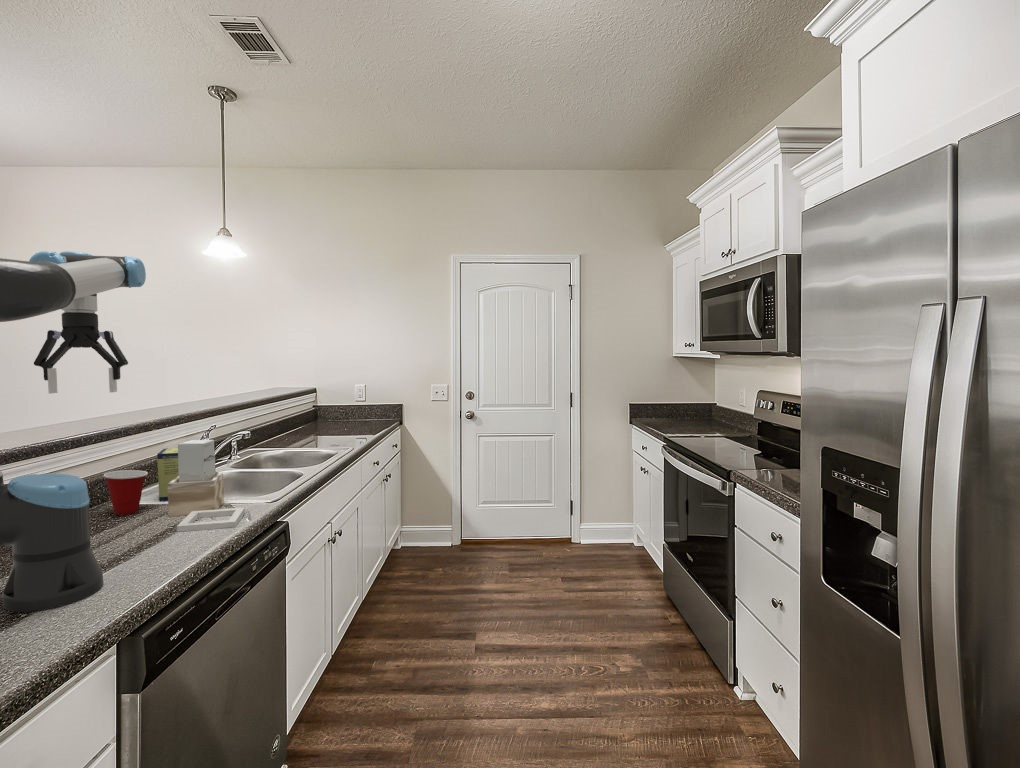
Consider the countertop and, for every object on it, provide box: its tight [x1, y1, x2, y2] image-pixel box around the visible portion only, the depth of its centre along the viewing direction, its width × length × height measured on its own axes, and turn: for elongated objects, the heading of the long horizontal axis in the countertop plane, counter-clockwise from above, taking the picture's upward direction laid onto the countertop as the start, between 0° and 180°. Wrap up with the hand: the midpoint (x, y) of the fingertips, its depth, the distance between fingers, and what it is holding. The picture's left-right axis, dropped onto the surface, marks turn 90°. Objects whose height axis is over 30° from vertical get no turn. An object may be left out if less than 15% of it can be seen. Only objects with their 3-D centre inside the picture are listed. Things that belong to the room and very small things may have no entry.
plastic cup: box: [103, 469, 149, 516], centre depth 160 cm, size 11×11×12 cm
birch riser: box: [167, 471, 225, 517], centre depth 164 cm, size 12×12×10 cm
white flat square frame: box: [176, 507, 246, 533], centre depth 152 cm, size 14×14×2 cm
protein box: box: [156, 445, 217, 502], centre depth 179 cm, size 10×16×16 cm
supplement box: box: [177, 439, 216, 482], centre depth 163 cm, size 7×7×13 cm
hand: (83, 392), depth 144 cm, fingers open, 13 cm apart
